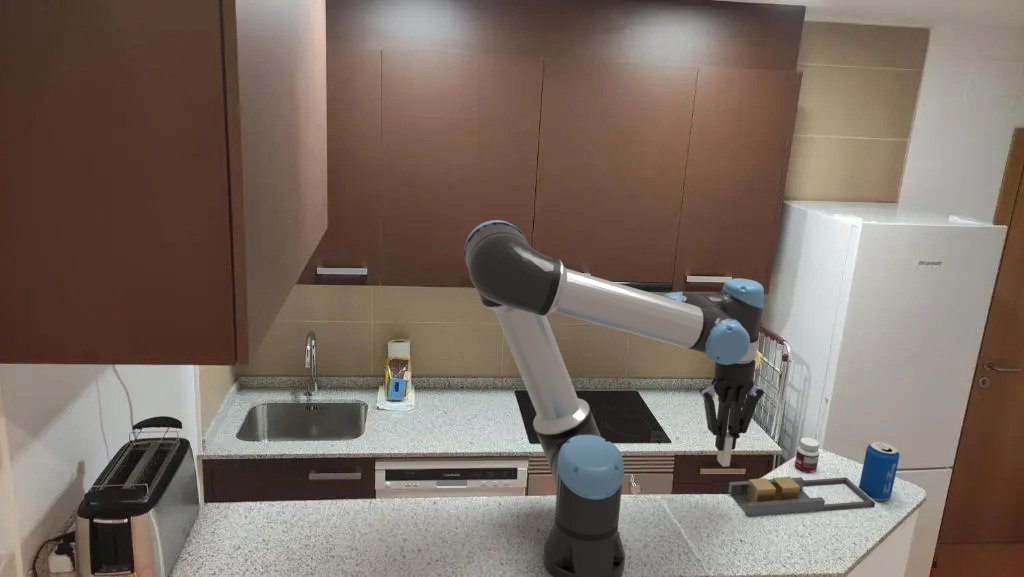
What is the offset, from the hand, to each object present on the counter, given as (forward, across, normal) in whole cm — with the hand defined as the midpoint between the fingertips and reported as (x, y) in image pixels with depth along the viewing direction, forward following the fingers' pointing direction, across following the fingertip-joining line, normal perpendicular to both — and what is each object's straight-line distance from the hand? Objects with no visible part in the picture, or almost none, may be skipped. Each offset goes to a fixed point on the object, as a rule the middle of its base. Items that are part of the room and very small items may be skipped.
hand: (723, 462), depth 147 cm
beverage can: (+13, +38, +2) cm, 41 cm away
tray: (+12, +28, 0) cm, 30 cm away
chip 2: (+10, +15, 0) cm, 18 cm away
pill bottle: (+12, +28, +12) cm, 32 cm away
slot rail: (+12, +13, 0) cm, 18 cm away
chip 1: (+10, +10, 0) cm, 14 cm away
